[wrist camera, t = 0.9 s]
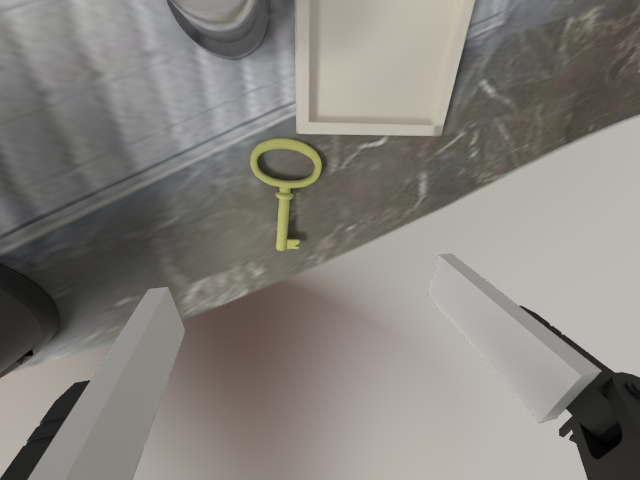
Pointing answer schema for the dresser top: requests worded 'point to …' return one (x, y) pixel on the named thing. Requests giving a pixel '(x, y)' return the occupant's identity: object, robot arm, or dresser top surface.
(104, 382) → the robot arm
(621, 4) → the dresser top surface
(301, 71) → the tray
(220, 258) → the dresser top surface
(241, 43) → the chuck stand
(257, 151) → the key
